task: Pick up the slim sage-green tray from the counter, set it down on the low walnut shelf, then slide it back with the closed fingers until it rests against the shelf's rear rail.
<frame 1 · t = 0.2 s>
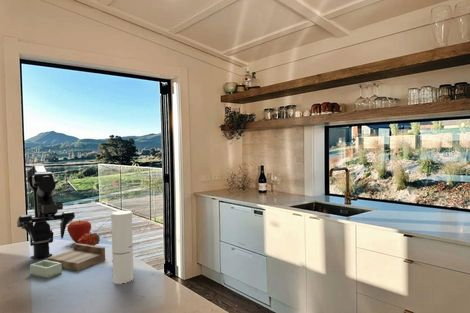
hand: (48, 240, 121), 14 cm above the countertop, tool tilted 30°, fingers open, 9 cm apart
walnut shelf: (77, 262, 138), on the countertop
sage tray: (46, 274, 125), on the countertop
cylindrical container: (123, 280, 118), on the countertop
plastic bottle: (120, 267, 131), on the countertop
dragon fruit: (88, 249, 157), on the countertop
apple: (79, 242, 168), on the countertop
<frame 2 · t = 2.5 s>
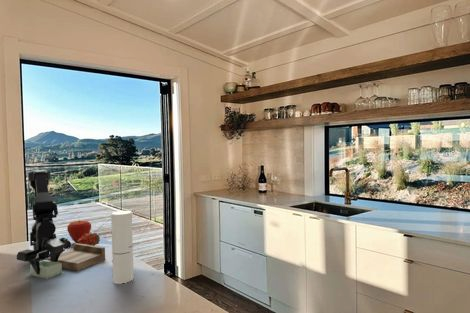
hand: (46, 271, 125), 1 cm above the countertop, tool pointing down, fingers closed on sage tray, 6 cm apart
sage tray: (46, 274, 125), on the countertop, touching gripper
everything else where it was.
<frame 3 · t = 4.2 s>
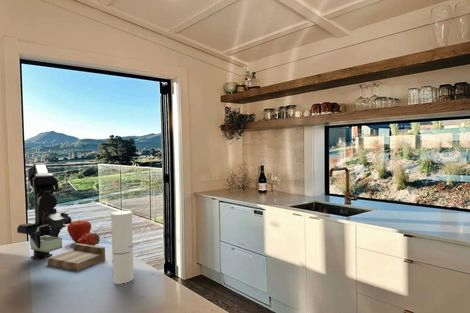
hand: (46, 246, 125), 11 cm above the countertop, tool pointing down, fingers closed on sage tray, 6 cm apart
sage tray: (46, 248, 125), point 10 cm above the countertop, touching gripper
everything else where it was.
when the fingers open (5 cm above the countertop, at t = 6.3 s): sage tray drops 1 cm, resting on walnut shelf.
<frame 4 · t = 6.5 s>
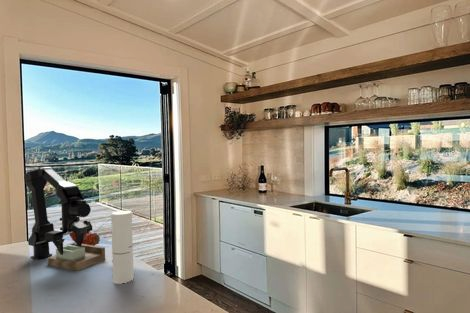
hand: (70, 251, 135), 5 cm above the countertop, tool pointing down, fingers open, 8 cm apart
sage tray: (70, 257, 135), point 3 cm above the countertop, touching walnut shelf
everything else where it was.
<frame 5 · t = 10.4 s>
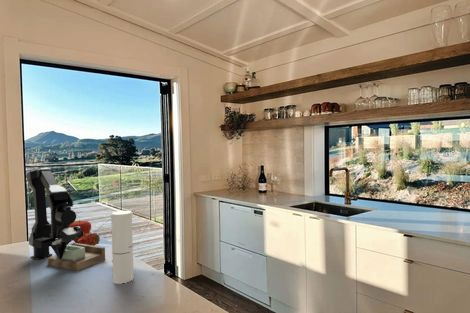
hand: (60, 258, 130), 4 cm above the countertop, tool pointing down, fingers closed
sage tray: (70, 257, 135), point 3 cm above the countertop, touching gripper
everything else where it was.
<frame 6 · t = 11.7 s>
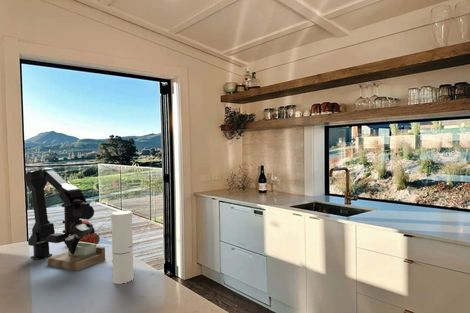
hand: (72, 254, 136), 4 cm above the countertop, tool pointing down, fingers closed
sage tray: (82, 253, 140), point 3 cm above the countertop, touching gripper, walnut shelf
everything else where it was.
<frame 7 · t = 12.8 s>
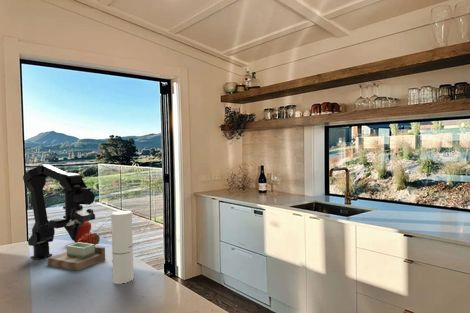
hand: (73, 239, 136), 10 cm above the countertop, tool pointing down, fingers closed
sage tray: (80, 254, 139), point 3 cm above the countertop, touching walnut shelf
everything else where it was.
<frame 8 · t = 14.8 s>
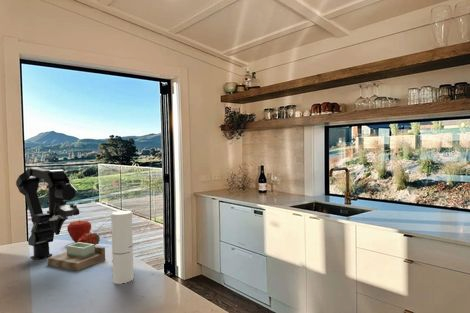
hand: (57, 234, 138), 12 cm above the countertop, tool pointing down, fingers closed
nothing on the countertop moved.
at the end: sage tray inside the target area on the walnut shelf (1.0 cm from its centre), point 3.0 cm above the walnut shelf's base; sage tray tilted 0°; the gripper is holding nothing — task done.
